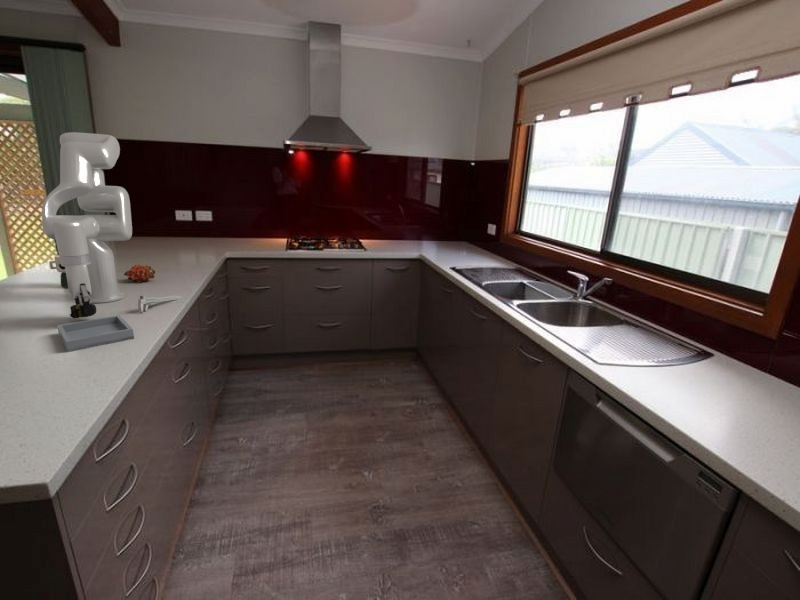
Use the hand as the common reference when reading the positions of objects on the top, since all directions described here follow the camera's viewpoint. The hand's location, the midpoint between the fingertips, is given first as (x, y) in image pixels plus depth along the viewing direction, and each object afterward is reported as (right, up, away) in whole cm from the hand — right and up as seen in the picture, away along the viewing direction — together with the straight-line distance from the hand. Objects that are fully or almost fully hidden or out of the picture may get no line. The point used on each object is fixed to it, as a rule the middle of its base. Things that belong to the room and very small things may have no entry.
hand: (85, 311), depth 137 cm
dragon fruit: (-12, +12, +48) cm, 51 cm away
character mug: (-33, +9, +36) cm, 49 cm away
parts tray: (+11, -7, -11) cm, 17 cm away
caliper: (+14, +2, +20) cm, 24 cm away
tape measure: (-1, -2, 0) cm, 2 cm away
